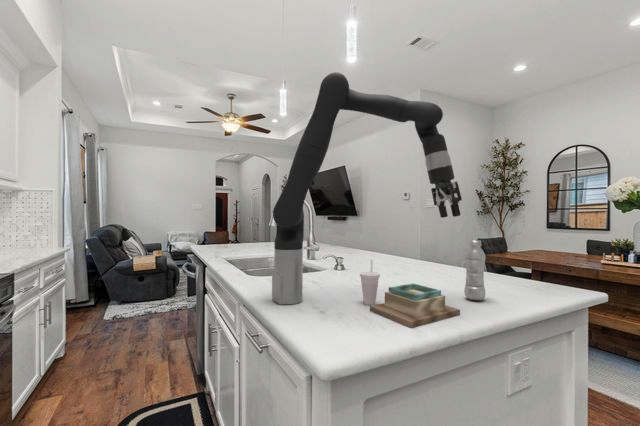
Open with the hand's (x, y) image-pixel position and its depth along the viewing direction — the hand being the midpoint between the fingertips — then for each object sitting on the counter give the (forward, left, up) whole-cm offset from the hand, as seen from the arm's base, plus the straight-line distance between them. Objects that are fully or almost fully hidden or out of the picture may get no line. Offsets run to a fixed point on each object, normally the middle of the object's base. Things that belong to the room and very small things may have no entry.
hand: (450, 216), depth 103 cm
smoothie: (-22, +14, -28) cm, 38 cm away
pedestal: (-17, 0, -28) cm, 33 cm away
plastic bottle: (+11, -1, -28) cm, 30 cm away
